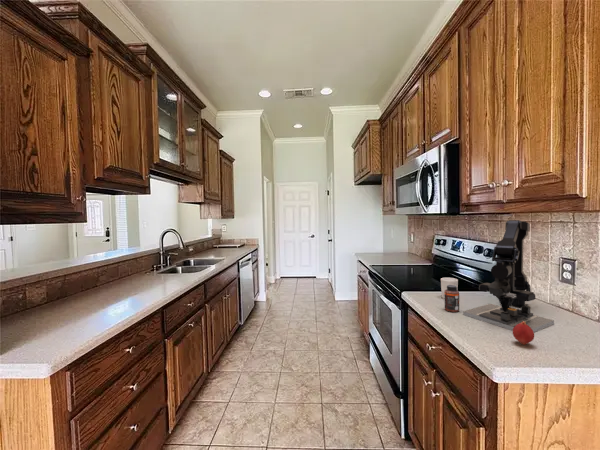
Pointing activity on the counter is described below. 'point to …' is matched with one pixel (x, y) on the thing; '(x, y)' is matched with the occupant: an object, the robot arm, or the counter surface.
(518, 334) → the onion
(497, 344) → the counter surface
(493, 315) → the breaker panel
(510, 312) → the block
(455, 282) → the white cup
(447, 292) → the supplement bottle
